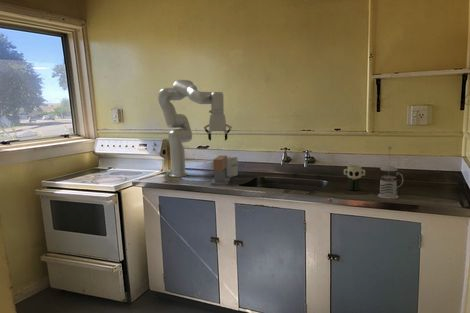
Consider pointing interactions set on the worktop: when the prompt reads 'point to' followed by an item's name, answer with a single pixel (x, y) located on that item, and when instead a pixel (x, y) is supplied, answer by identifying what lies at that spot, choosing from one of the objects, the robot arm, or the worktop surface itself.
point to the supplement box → (232, 166)
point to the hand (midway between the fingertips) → (217, 140)
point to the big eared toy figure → (354, 176)
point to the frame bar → (220, 163)
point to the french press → (386, 180)
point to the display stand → (221, 178)
